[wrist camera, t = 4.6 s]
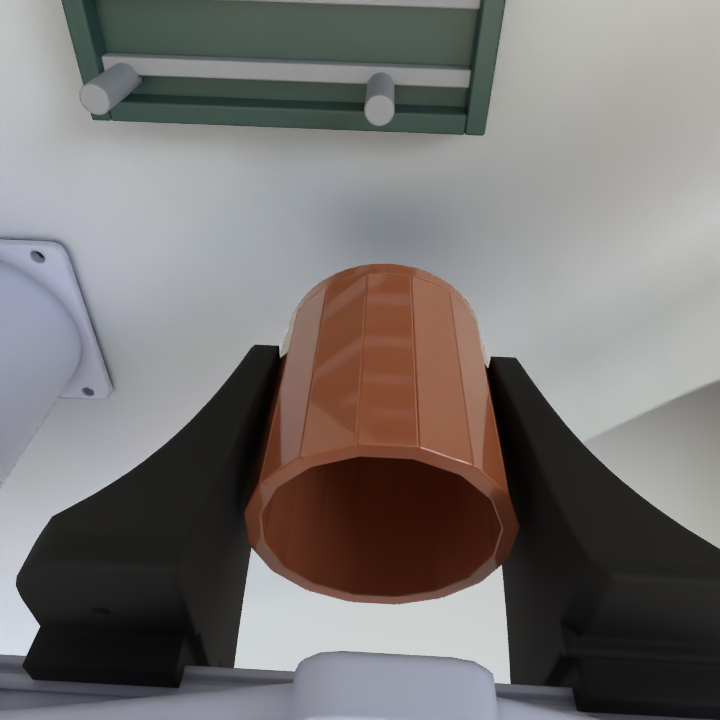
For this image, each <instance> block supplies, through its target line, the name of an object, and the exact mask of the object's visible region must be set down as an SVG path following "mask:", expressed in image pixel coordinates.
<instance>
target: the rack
mask: <svg viewBox="0 0 720 720" xmlns="http://www.w3.org/2000/svg"><path fill="white" fill-rule="evenodd" d="M61 1H62V5H63V8H64V12H65V16H66V20H67V24H68V28H69V31H70V35H71V39H72V43H73V47H74V50H75V54H76V58H77V62H78V66H79V70H80V73H81V77H82V81H83V85H84V86H82V88H81V90H80V100H81V103H82V105H83V106H84V107H85V108H86V109H87V110H88V111H89V112H91V116H92V119H93V120H106V121H110V120H113V121H131V122H156V123H181V124H207V125H232V126H257V127H282V128H307V129H332V130H357V131H382V132H407V133H433V134H458V135H462V134H464V133H465V134H466V135H484V133H485V127H486V121H487V115H488V108H489V102H490V96H491V89H492V83H493V77H494V70H495V64H496V58H497V51H498V45H499V39H500V33H501V26H502V20H503V14H504V7H505V1H506V0H61Z"/></svg>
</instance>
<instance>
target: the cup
mask: <svg viewBox="0 0 720 720" xmlns="http://www.w3.org/2000/svg"><path fill="white" fill-rule="evenodd" d="M243 514H244V520H245V526H246V532H247V538H248V543H249V545H250V546H251V547H252V548H253V549H254V551H255V552H256V553H257V554H258V555H259V556H260V558H261V559H262V560H263V561H264V562H265V563H266V565H267V566H268V567H269V568H270V569H271V570H272V571H273V572H275V573H277V574H279V575H281V576H282V577H284V578H286V579H288V580H290V581H291V582H293V583H295V584H297V585H299V586H300V587H302V588H304V589H306V590H309V591H312V592H315V593H320V594H323V595H327V596H330V597H334V598H338V599H342V600H345V601H351V602H361V603H362V602H363V603H380V604H404V603H410V602H417V601H424V600H431V599H438V598H441V597H445V596H448V595H450V594H453V593H455V592H458V591H460V590H463V589H465V588H468V587H470V586H473V585H475V584H478V583H480V582H481V581H483V580H484V579H485V578H486V577H487V576H489V575H490V574H491V573H492V572H493V571H495V569H497V568H498V567H499V566H500V565H502V564H503V563H504V562H505V561H506V560H507V559H508V557H510V554H511V551H512V548H513V545H514V542H515V540H516V537H517V534H518V531H519V528H520V523H519V518H518V513H517V508H516V503H515V498H514V493H513V488H512V483H511V478H510V473H509V468H508V463H507V458H506V453H505V448H504V443H503V438H502V432H501V427H500V422H499V417H498V412H497V407H496V403H495V398H494V393H493V388H492V383H491V378H490V373H489V367H488V362H487V357H486V352H485V347H484V344H483V341H482V337H481V333H480V328H479V324H478V321H477V318H476V316H475V313H474V312H473V310H472V308H471V307H470V305H469V303H468V302H467V301H466V300H465V298H464V297H463V296H462V295H461V294H460V293H459V292H458V291H457V290H456V289H455V288H453V287H452V286H451V285H450V284H448V283H447V282H445V281H444V280H442V279H441V278H439V277H437V276H435V275H433V274H431V273H428V272H426V271H423V270H420V269H417V268H413V267H408V266H404V265H396V264H371V265H363V266H358V267H354V268H350V269H347V270H344V271H342V272H339V273H336V274H334V275H332V276H331V277H329V278H327V279H325V280H323V281H322V282H321V283H319V284H318V285H316V286H315V287H314V288H313V289H312V290H310V291H309V292H308V293H307V294H306V295H305V296H304V298H303V299H302V300H301V302H300V303H299V304H298V306H297V308H296V309H295V311H294V313H293V315H292V318H291V321H290V323H289V328H288V331H287V333H286V335H285V338H284V341H283V346H282V350H281V354H280V360H279V364H278V368H277V372H276V377H275V381H274V385H273V389H272V392H271V396H270V401H269V405H268V409H267V413H266V418H265V422H264V426H263V430H262V435H261V439H260V443H259V447H258V452H257V456H256V460H255V464H254V468H253V473H252V477H251V481H250V485H249V490H248V494H247V498H246V502H245V507H244V512H243Z"/></svg>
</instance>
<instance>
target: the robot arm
mask: <svg viewBox="0 0 720 720" xmlns="http://www.w3.org/2000/svg"><path fill="white" fill-rule="evenodd" d="M36 251H38V252H40V253H41V254H43V256H44V257H45V258H42V257H40V256H39V255H37V253H36ZM279 360H280V354H279V346H271V345H254V346H253V347H252V348H251V349H250V350H249V352H248V353H247V355H246V356H245V357H244V359H243V360H242V361H241V363H240V364H239V365H238V367H237V368H236V369H235V371H234V372H233V373H232V375H231V376H230V377H229V378H228V380H227V381H226V382H225V383H224V384H223V386H222V387H221V388H220V389H219V390H218V392H217V393H216V394H215V395H214V396H213V397H212V399H211V400H210V401H209V402H208V403H207V404H206V405H205V406H204V407H203V408H202V409H201V410H200V411H199V412H198V414H197V415H196V416H195V417H194V418H193V419H192V420H191V421H190V422H189V423H188V424H187V425H186V426H185V427H184V428H183V429H182V430H180V431H179V432H178V433H177V434H176V435H175V436H174V437H173V438H172V439H170V440H169V441H168V442H167V443H166V444H165V445H164V446H162V447H161V448H160V449H159V450H157V451H156V452H155V453H154V454H152V455H151V456H150V457H149V458H147V459H146V460H145V461H143V462H142V463H141V464H139V465H138V466H137V467H135V468H134V469H133V470H131V471H130V472H128V473H127V474H125V475H124V476H122V477H121V478H119V479H118V480H116V481H115V482H113V483H111V484H110V485H108V486H107V487H105V488H103V489H102V490H100V491H98V492H97V493H95V494H93V495H92V496H90V497H88V498H86V499H84V500H83V501H81V502H79V503H77V504H75V505H73V506H71V507H70V508H68V509H66V510H64V511H62V512H60V513H58V514H56V515H54V516H52V518H51V519H50V521H49V522H48V524H47V525H46V527H45V528H44V529H43V531H42V532H41V534H40V535H39V537H38V539H37V540H36V542H35V544H34V546H33V547H32V549H31V551H30V553H29V555H28V557H27V559H26V560H25V562H24V564H23V566H22V568H21V570H20V572H19V573H18V575H17V579H16V587H17V589H18V592H19V594H20V596H21V598H22V599H23V601H24V602H25V604H26V605H27V607H28V608H29V610H30V611H31V613H32V614H33V616H34V617H35V619H36V620H37V622H38V623H39V625H40V628H39V631H38V633H37V635H36V637H35V639H34V641H33V643H32V645H31V648H30V650H29V652H28V654H27V656H16V655H0V720H720V549H719V548H717V547H715V546H714V545H712V544H711V543H709V542H707V541H706V540H704V539H702V538H701V537H699V536H697V535H696V534H694V533H693V532H691V531H689V530H688V529H686V528H684V527H683V526H681V525H680V524H678V523H677V522H676V521H674V520H673V519H671V518H670V517H668V516H667V515H666V514H664V513H663V512H661V511H660V510H658V509H657V508H656V507H654V506H653V505H652V504H650V503H649V502H648V501H646V500H645V499H643V498H642V497H641V496H640V495H639V494H637V493H636V492H635V491H634V490H632V489H631V488H630V487H629V486H628V485H626V484H625V483H624V482H623V481H621V480H620V479H619V478H618V477H617V476H615V474H613V473H612V472H611V471H610V470H609V469H608V468H607V467H606V466H605V465H604V464H602V462H600V461H599V460H598V459H597V458H596V457H595V456H594V455H593V454H592V453H591V452H590V451H589V450H588V449H587V448H586V447H585V446H584V445H583V444H582V442H581V441H580V440H579V439H578V438H577V437H576V436H575V435H574V434H573V432H572V431H571V430H570V429H569V428H568V427H567V425H566V424H565V423H564V422H563V421H562V419H561V418H560V417H559V416H558V414H557V413H556V412H555V411H554V409H553V408H552V407H551V406H550V404H549V403H548V402H547V400H546V399H545V398H544V396H543V395H542V394H541V392H540V391H539V390H538V388H537V387H536V386H535V384H534V383H533V381H532V380H531V378H530V377H529V376H528V374H527V373H526V371H525V370H524V368H523V367H522V366H521V364H520V363H519V361H518V360H517V359H516V358H511V357H491V360H490V364H489V373H490V378H491V383H492V388H493V393H494V398H495V403H496V407H497V412H498V417H499V422H500V427H501V432H502V438H503V443H504V448H505V453H506V458H507V463H508V468H509V473H510V478H511V483H512V488H513V493H514V498H515V503H516V508H517V513H518V518H519V523H520V528H519V531H518V534H517V537H516V540H515V542H514V545H513V548H512V551H511V554H510V557H508V559H507V560H506V561H505V562H504V563H503V564H502V570H503V580H504V592H505V603H506V616H507V629H508V643H509V657H510V658H509V659H510V679H511V684H497V683H494V678H493V674H492V673H491V672H490V671H489V670H487V669H486V668H484V667H482V666H481V665H479V664H477V663H476V662H474V661H469V660H463V659H458V658H452V657H436V656H418V655H401V654H383V653H366V652H365V653H364V652H348V651H338V652H323V653H318V654H316V655H313V656H311V657H308V658H306V659H304V660H303V661H301V662H300V663H299V665H298V667H297V669H296V671H295V672H292V671H291V672H290V671H274V670H257V669H240V668H234V662H235V655H236V646H237V639H238V631H239V625H240V618H241V611H242V604H243V597H244V590H245V584H246V577H247V571H248V565H249V558H250V552H251V546H250V545H249V543H248V538H247V532H246V526H245V520H244V514H243V512H244V507H245V502H246V498H247V494H248V490H249V485H250V481H251V477H252V473H253V468H254V464H255V460H256V456H257V452H258V447H259V443H260V439H261V435H262V430H263V426H264V422H265V418H266V413H267V409H268V405H269V401H270V396H271V392H272V389H273V385H274V381H275V377H276V372H277V368H278V364H279ZM88 388H90V389H92V390H90V389H88ZM112 391H113V388H112V385H111V382H110V379H109V376H108V373H107V370H106V367H105V364H104V361H103V358H102V355H101V352H100V349H99V346H98V343H97V340H96V337H95V334H94V331H93V328H92V325H91V322H90V319H89V316H88V313H87V310H86V307H85V304H84V301H83V298H82V295H81V292H80V289H79V287H78V284H77V281H76V278H75V275H74V272H73V269H72V266H71V263H70V260H69V257H68V254H67V252H66V250H65V249H64V248H63V247H62V246H61V245H59V244H58V243H55V242H51V241H28V240H5V239H0V487H1V486H2V484H3V483H4V481H5V480H6V478H7V477H8V475H9V473H10V472H11V470H12V469H13V467H14V466H15V464H16V463H17V461H18V460H19V458H20V456H21V455H22V453H23V452H24V450H25V449H26V447H27V446H28V444H29V443H30V441H31V440H32V438H33V436H34V435H35V433H36V432H37V430H38V429H39V427H40V426H41V424H42V423H43V421H44V419H45V418H46V416H47V415H48V413H49V412H50V410H51V409H52V407H53V406H54V404H55V402H56V401H57V399H58V398H59V397H61V398H81V399H107V398H109V396H110V395H111V393H112Z"/></svg>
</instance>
